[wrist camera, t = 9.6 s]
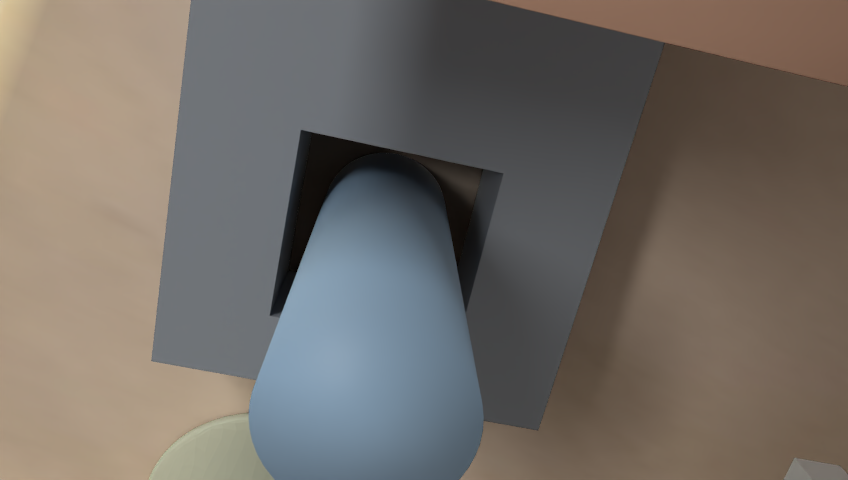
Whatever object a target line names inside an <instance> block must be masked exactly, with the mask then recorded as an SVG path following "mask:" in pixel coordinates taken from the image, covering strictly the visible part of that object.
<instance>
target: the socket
mask: <svg viewBox="0 0 848 480" xmlns="http://www.w3.org/2000/svg"><path fill="white" fill-rule="evenodd" d="M664 44H665V43H664V42H660V41H655V40H651V39H647V38H643V37H639V36H634V35H630V34H626V33H622V32H618V31H614V30H609V29H605V28H601V27H597V26H593V25H589V24H584V23H580V22H576V21H572V20H568V19H564V18H559V17H555V16H551V15H547V14H543V13H538V12H534V11H530V10H526V9H522V8H518V7H513V6H509V5H505V4H501V3H497V2H493V1H488V0H191V5H190V14H189V23H188V32H187V41H186V51H185V60H184V69H183V78H182V87H181V96H180V105H179V114H178V123H177V133H176V142H175V151H174V160H173V169H172V178H171V187H170V196H169V206H168V215H167V224H166V233H165V242H164V251H163V260H162V269H161V278H160V288H159V297H158V306H157V315H156V324H155V333H154V342H153V351H152V360H151V361H153V362H159V363H165V364H170V365H176V366H181V367H187V368H192V369H198V370H204V371H209V372H215V373H220V374H226V375H232V376H237V377H243V378H248V379H254V380H257V377H258V375H259V372H260V369H261V367H262V364H263V361H264V359H265V356H266V353H267V351H268V348H269V345H270V343H271V340H272V337H273V335H274V332H275V329H276V327H277V324H278V321H279V319H280V316H281V313H282V311H283V308H284V305H285V303H286V300H287V297H288V295H289V292H290V289H291V287H292V284H293V282H294V279H295V276H296V274H297V272H293V271H288V268H289V262H290V257H291V251H292V245H293V239H294V234H295V228H296V222H297V216H298V211H299V205H300V199H301V193H302V188H303V182H304V176H305V170H306V165H307V159H308V153H309V147H310V142H311V136H312V132H313V133H318V134H323V135H327V136H332V137H337V138H341V139H346V140H351V141H355V142H360V143H365V144H369V145H374V146H378V147H383V148H388V149H392V150H397V151H402V152H406V153H411V154H416V155H420V156H425V157H430V158H434V159H439V160H444V161H448V162H453V163H457V164H462V165H467V166H471V167H476V168H481V169H483V172H482V176H481V180H480V184H479V187H478V191H477V195H476V199H475V203H474V207H473V211H472V214H471V218H470V222H469V226H468V230H467V234H466V238H465V241H464V245H463V249H462V253H461V257H460V261H459V265H458V268H457V270H458V276H459V281H460V286H461V292H462V297H463V302H464V308H465V313H466V319H467V324H468V329H469V335H470V340H471V345H472V351H473V356H474V361H475V367H476V372H477V378H478V383H479V388H480V394H481V399H482V405H483V416H484V420H483V421H488V422H494V423H499V424H505V425H511V426H516V427H522V428H527V429H533V430H538V429H539V426H540V423H541V420H542V417H543V414H544V411H545V408H546V405H547V402H548V399H549V396H550V393H551V390H552V387H553V383H554V380H555V377H556V374H557V371H558V368H559V365H560V362H561V359H562V356H563V353H564V350H565V347H566V344H567V341H568V338H569V334H570V331H571V328H572V325H573V322H574V319H575V316H576V313H577V310H578V307H579V304H580V301H581V298H582V295H583V292H584V289H585V286H586V282H587V279H588V276H589V273H590V270H591V267H592V264H593V261H594V258H595V255H596V252H597V249H598V246H599V243H600V240H601V237H602V233H603V230H604V227H605V224H606V221H607V218H608V215H609V212H610V209H611V206H612V203H613V200H614V197H615V194H616V191H617V188H618V184H619V181H620V178H621V175H622V172H623V169H624V166H625V163H626V160H627V157H628V154H629V151H630V148H631V145H632V142H633V139H634V135H635V132H636V129H637V126H638V123H639V120H640V117H641V114H642V111H643V108H644V105H645V102H646V99H647V96H648V93H649V90H650V87H651V83H652V80H653V77H654V74H655V71H656V68H657V65H658V62H659V59H660V56H661V53H662V50H663V47H664Z"/></svg>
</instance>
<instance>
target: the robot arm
mask: <svg viewBox="0 0 848 480" xmlns="http://www.w3.org/2000/svg"><path fill="white" fill-rule="evenodd" d="M784 480H848V474H847V473H846V472H845V471H844V470H843V468H842V467H841V466H839V465H833V464H828V463H822V462H816V461H811V460H805V459H799V458H794V460H793V462H792V464H791V466H790V468H789V470H788V472H787V474H786V476H785V478H784Z"/></svg>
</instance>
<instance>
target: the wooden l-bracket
mask: <svg viewBox="0 0 848 480" xmlns="http://www.w3.org/2000/svg"><path fill="white" fill-rule="evenodd" d="M488 1H493V2H497V3H501V4H505V5H509V6H513V7H518V8H522V9H526V10H530V11H534V12H538V13H543V14H547V15H551V16H555V17H559V18H564V19H568V20H572V21H576V22H580V23H584V24H589V25H593V26H597V27H601V28H605V29H609V30H614V31H618V32H622V33H626V34H630V35H634V36H639V37H643V38H647V39H651V40H655V41H660V42H664V43H668V44H672V45H676V46H680V47H685V48H689V49H693V50H697V51H701V52H705V53H710V54H714V55H718V56H722V57H726V58H730V59H735V60H739V61H743V62H747V63H751V64H756V65H760V66H764V67H768V68H772V69H776V70H781V71H785V72H789V73H793V74H797V75H801V76H806V77H810V78H814V79H818V80H822V81H826V82H831V83H835V84H839V85H843V86H847V87H848V0H488Z"/></svg>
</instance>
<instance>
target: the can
mask: <svg viewBox="0 0 848 480" xmlns="http://www.w3.org/2000/svg"><path fill="white" fill-rule="evenodd" d="M149 480H275V479H274V478H273V477H272V476H271V475H270V474H269V472H268V471H267V470H266V468H265V467H264V466H263V464H262V462H261V460H260V458H259V457H258V455H257V453H256V450H255V447H254V445H253V442H252V438H251V434H250V429H249V413H243V414H236V415H231V416H226V417H222V418H219V419H216V420H213V421H210V422H208V423H205V424H203V425H201V426H199V427H197V428H195V429H193V430H191V431H190V432H188V433H187V434H185V435H184V436H182V437H181V438H180V439H178V440H177V441H176V442H175V443H174V444H172V446H171V447H170V448H169V449H168V450H167V451H166V452H165V453H164V454H163V455H162V457H161V458H160V460H159V461H158V463H157V464H156V466H155V467H154V469H153V471H152V473H151V475H150V478H149Z"/></svg>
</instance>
